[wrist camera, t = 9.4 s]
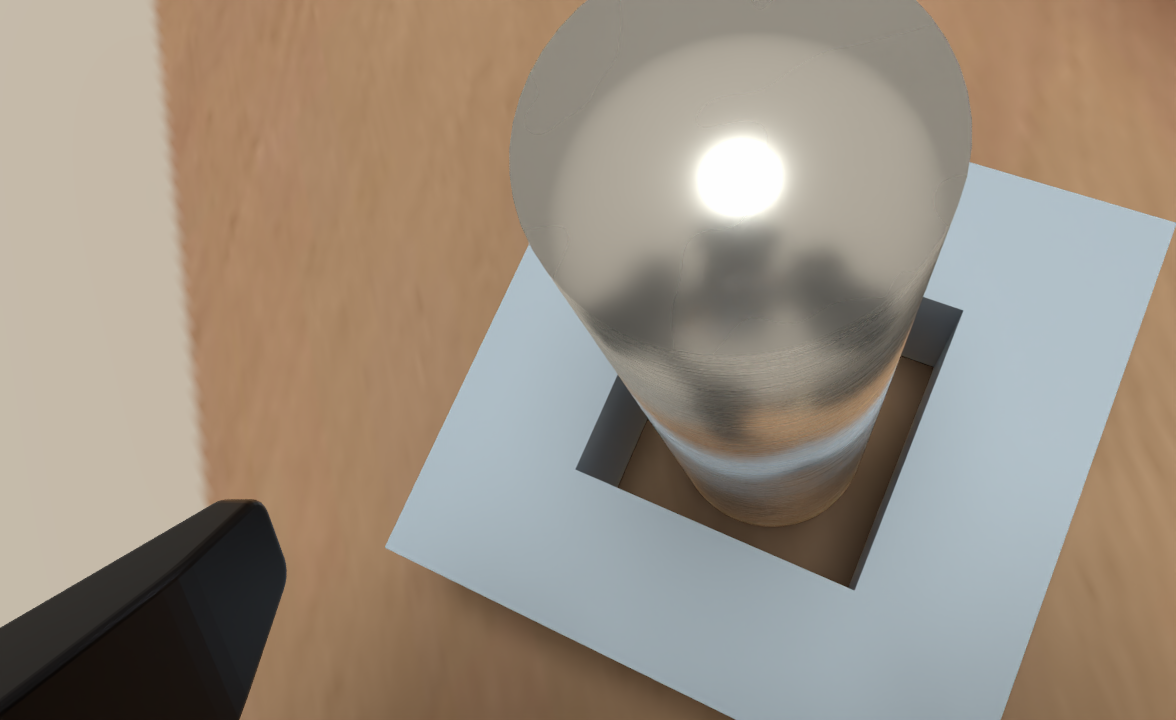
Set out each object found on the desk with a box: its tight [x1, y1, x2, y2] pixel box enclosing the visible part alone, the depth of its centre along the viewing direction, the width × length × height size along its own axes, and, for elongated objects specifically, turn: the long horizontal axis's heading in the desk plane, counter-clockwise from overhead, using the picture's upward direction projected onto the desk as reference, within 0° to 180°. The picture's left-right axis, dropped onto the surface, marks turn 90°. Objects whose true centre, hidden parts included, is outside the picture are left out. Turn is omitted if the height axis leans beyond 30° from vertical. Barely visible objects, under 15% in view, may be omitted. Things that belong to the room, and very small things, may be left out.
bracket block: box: [385, 162, 1176, 720], centre depth 20 cm, size 11×11×4 cm
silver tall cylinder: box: [510, 0, 972, 527], centre depth 15 cm, size 4×4×14 cm
